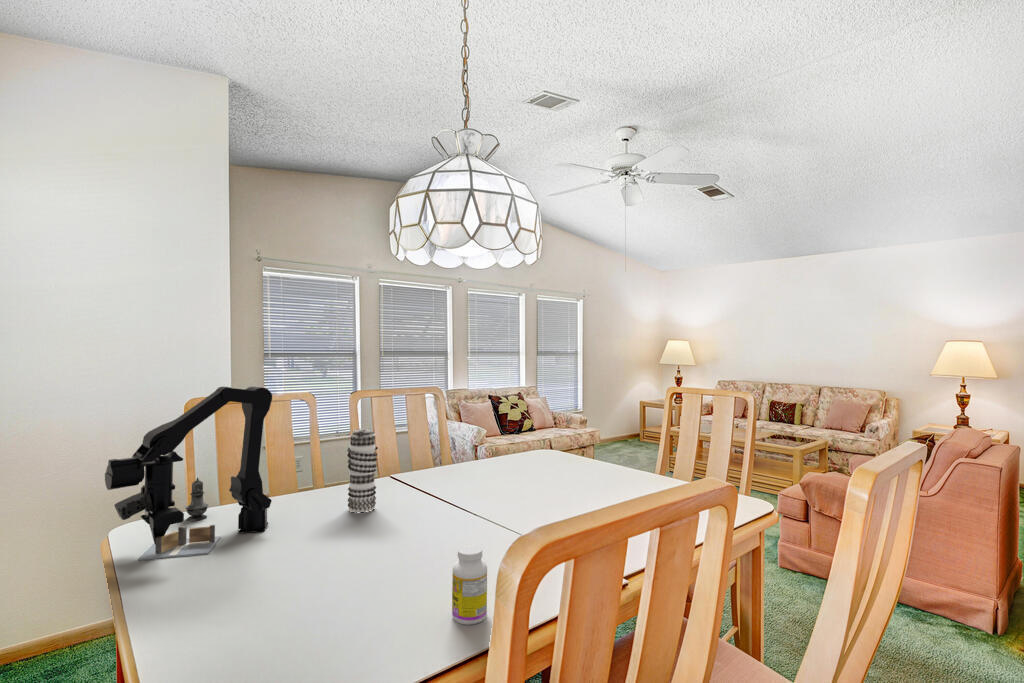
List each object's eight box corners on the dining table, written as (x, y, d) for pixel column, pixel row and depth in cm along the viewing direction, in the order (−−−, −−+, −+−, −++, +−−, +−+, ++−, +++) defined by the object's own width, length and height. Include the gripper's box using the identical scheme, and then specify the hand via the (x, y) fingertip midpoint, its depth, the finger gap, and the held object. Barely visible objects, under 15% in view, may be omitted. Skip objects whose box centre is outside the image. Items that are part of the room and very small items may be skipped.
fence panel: (174, 545, 130) (174, 530, 130) (178, 545, 130) (178, 530, 130) (154, 553, 125) (154, 538, 125) (158, 554, 125) (158, 538, 125)
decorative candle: (351, 504, 168) (352, 427, 168) (379, 504, 168) (380, 427, 168) (342, 513, 159) (343, 432, 159) (373, 513, 159) (374, 432, 159)
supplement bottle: (452, 608, 102) (453, 543, 102) (486, 607, 102) (486, 542, 102) (451, 627, 95) (452, 556, 95) (487, 625, 96) (488, 555, 96)
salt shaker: (197, 522, 150) (198, 480, 150) (180, 520, 151) (180, 479, 151) (213, 515, 155) (213, 475, 156) (196, 514, 157) (196, 474, 157)
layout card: (220, 537, 138) (220, 535, 138) (208, 554, 127) (208, 552, 127) (156, 542, 134) (156, 541, 134) (137, 560, 123) (137, 558, 123)
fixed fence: (215, 542, 135) (215, 523, 135) (213, 544, 133) (213, 525, 133) (179, 545, 133) (179, 526, 133) (176, 547, 131) (177, 528, 131)
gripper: (109, 479, 127) (108, 542, 128) (128, 497, 115) (126, 566, 115) (162, 471, 136) (161, 530, 136) (185, 487, 123) (183, 552, 123)
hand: (157, 544), depth 127 cm, fingers closed
